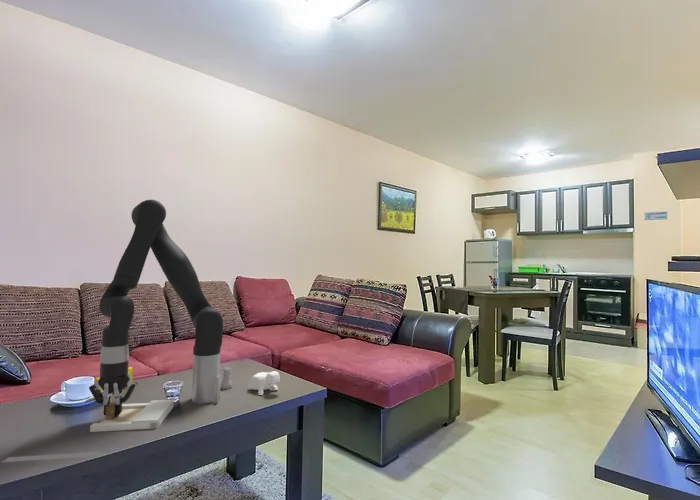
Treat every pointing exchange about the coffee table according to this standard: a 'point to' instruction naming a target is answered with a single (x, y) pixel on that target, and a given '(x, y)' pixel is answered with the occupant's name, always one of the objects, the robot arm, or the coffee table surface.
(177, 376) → the coffee table surface
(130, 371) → the candy box
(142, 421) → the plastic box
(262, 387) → the white elephant figurine
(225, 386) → the rook chess piece
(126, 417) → the cover plate
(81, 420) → the coffee table surface
